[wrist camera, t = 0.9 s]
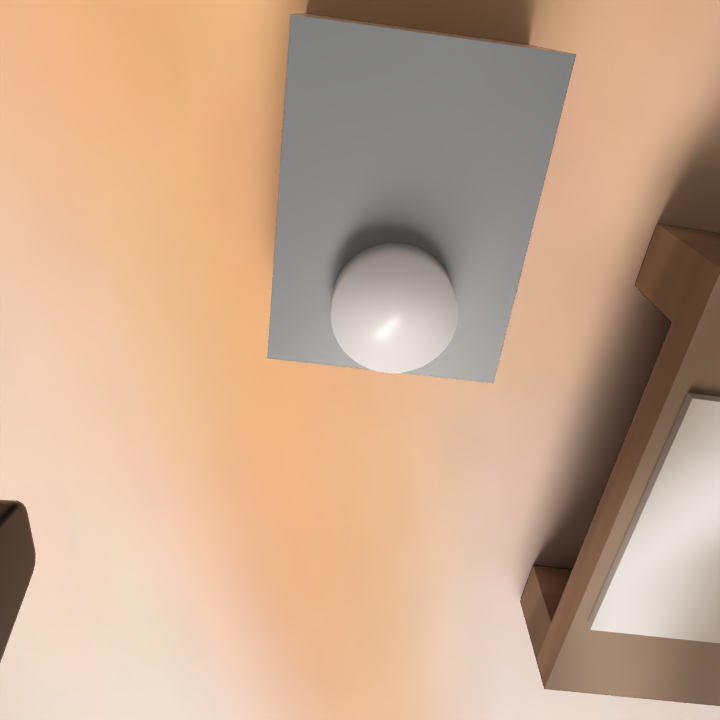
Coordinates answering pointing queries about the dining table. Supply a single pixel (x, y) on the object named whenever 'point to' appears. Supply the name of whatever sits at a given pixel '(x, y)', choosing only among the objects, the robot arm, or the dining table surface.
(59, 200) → the dining table surface
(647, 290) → the walnut stand
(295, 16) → the housing
